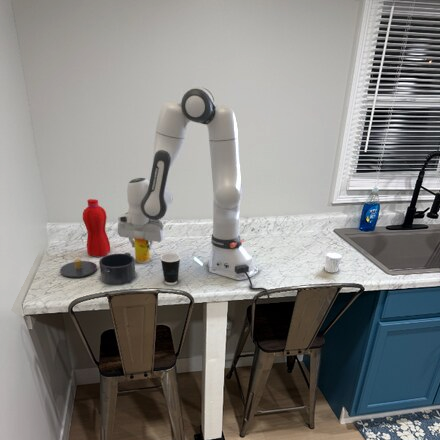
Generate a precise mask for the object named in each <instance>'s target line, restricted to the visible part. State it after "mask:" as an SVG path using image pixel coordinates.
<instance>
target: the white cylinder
mask: <svg viewBox="0 0 440 440" xmlns="http://www.w3.org/2000/svg"><path fill="white" fill-rule="evenodd" d="M324 256H325V257H324V258H325V259H324V271H325V272H327V273H337V272H338V270H339V268H340V264H341V261H342V257H343V256H342V254H340V253H339V252H333V251H330V252H326V253H325V255H324Z"/></svg>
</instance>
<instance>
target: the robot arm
mask: <svg viewBox="0 0 440 440" xmlns="http://www.w3.org/2000/svg"><path fill="white" fill-rule="evenodd" d="M190 122H193V123H197V124H201V125H206V127H207V132H208V142H209V143H208V144H209V155H210V166H211V180H212V181H211V182H212V193H213V199H212V201H213V203H212V205H213V206H212V234H211V239H210V240H211V241H210V243H211V251H210V256H209V257H210V258H209V261H208V265H207V267H208V272H209V273H212V274H216V275H218V276H221V277H225V278H229V279H232V280H236V281H243V280H244V281H245V280H247V279H248V282H249V289H250V290H253V291H257V290H263V291H265V292H266V297H267V300H268V301H271V297H270V292H269V293H267V291H266V290H268V289H267V288H265V287H253V283H252V280H251V278H252V277H254V276H255V275H257V274H258V273H259V267H257V266H256V265H254V258H253V256H252V255H251V254H250V253H249V252H248V251H247V250H246V248H245V247H244V246H243V244H242V243H244V239H241V236H240V235H239V234H240V221H241V219H240V218H241V217H240V215H241V213H240V212H241V208H240V207H241V200H242V196H243V188H242V174H241V162H240V146H239V145H240V144H239V131H238V130H239V129H238V124H237V118H236V114H235V111H234V110H233V108H231V107H229V106H226V105H217V104H216V103H215V98H214V96H213V94H212V93H211V91H210V90H209V89H207V88H205V87H201V86H195V87H192V88H189V90H188V91H186V92H185V93H184V94H183V96H182V98H181V102H177V101H168V102H165V103H164V104H163V105H162V106H161V108H160V111H159V115H158V118H157V123H156V127H155V134H154V143H153V144H154V145H153V156H152V157H153V158H152V167H151V173H150V178H149V180H148V179H147V178H144V177H137V178H134V179H133V178H132V179H131V180H130V181H128V183H127V188H126V199H127V203H128V211H126V212H124V213H122V214H120V215H118V217H117V220H118V223H117V234H118V236H119V237H120V238H127V239H128V241H129V243H130V244H131V248H134V249H135V242H134V231H135V230H138V231H143V232H144V238H145V240H149V245H148V246H147V249H148V250H149V251H151V250H152V249H153V245H154V243H155V242H157V243H160V242H162V241H163V240H164V239H165V233H164V223H163V222H162V221H161V219H163V218H164V217H165V215H166V213H167V211H168V210H169V208H170V206H171V205H172V203H173V193H172V192H171V191H170V189H168V188H167V183H168V178H169V174H170V171H171V169H172V167H173V166H174V164H175V163H176V162H177V160H178V158H179V157H180V155H181V152H182V150H183V147H184V144H185V139H186V133H187V128H188V125H189V124H190ZM194 261H196V262H197V263H198V264H199V265H200V266H203V262H201V261H200V259H198V258H197V257H194Z"/></svg>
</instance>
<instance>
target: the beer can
mask: <svg viewBox="0 0 440 440" xmlns="http://www.w3.org/2000/svg"><path fill="white" fill-rule="evenodd" d="M133 240H134V242H135V248H134V255H135V262H137V263H139V264H147V263H149V262H150V259H151V257H150V255H151V254H150V250H148V249H147V246H148V245H150V243H149V240H145V238H144V232H143V231H138V230H135V231H134V239H133Z"/></svg>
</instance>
